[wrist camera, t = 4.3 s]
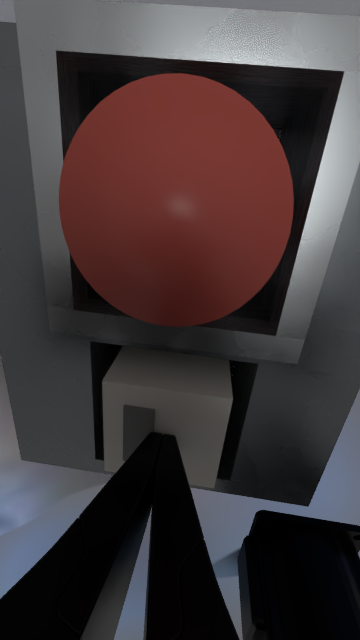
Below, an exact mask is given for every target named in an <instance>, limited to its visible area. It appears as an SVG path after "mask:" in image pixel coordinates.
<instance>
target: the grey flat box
mask: <svg viewBox="0 0 360 640" xmlns="http://www.w3.org/2000/svg"><path fill="white" fill-rule="evenodd" d="M14 7H15V16H16V23H9V22H0V352H1V357H2V362H3V368H4V373H5V378H6V383H7V388H8V393H9V398H10V403H11V408H12V414H13V419H14V424H15V429H16V434H17V439H18V444H19V449H20V454H21V460H25V461H31V462H37V463H44V464H50V465H56V466H62V467H68V468H74V469H80V470H87V471H93V472H99V473H105V474H111V475H114V474H115V472H109V471H104V433H103V395H102V380H103V378H104V377H105V375H106V373H107V372H108V370H109V368H110V367H111V365H112V363H113V362H114V360H115V358H116V357H117V355H118V353H119V352H120V350H121V348H122V347H123V346H130V347H138V348H145V349H153V350H160V351H167V352H175V353H182V354H190V355H197V356H205V357H212V358H220V359H227V360H234V361H236V364H235V369H234V374H233V379H232V384H231V385H232V395H233V401H232V406H231V411H230V416H229V420H228V425H227V430H226V435H225V439H224V444H223V449H222V453H221V458H220V463H219V468H218V472H217V477H216V482H215V487H214V488H208V487H201V486H195V485H189V486H190V487H191V488H198V489H204V490H210V491H217V492H222V493H228V494H234V495H241V496H247V497H253V498H259V499H265V500H271V501H278V502H284V503H290V504H296V505H302V506H309V504H310V502H311V499H312V497H313V495H314V492H315V490H316V487H317V485H318V483H319V481H320V478H321V476H322V474H323V471H324V469H325V467H326V465H327V462H328V460H329V458H330V455H331V453H332V451H333V449H334V446H335V444H336V442H337V439H338V437H339V435H340V432H341V430H342V428H343V425H344V423H345V421H346V419H347V416H348V414H349V412H350V409H351V407H352V405H353V402H354V400H355V398H356V395H357V393H358V391H359V388H360V16H347V15H331V14H314V13H298V12H281V11H265V10H248V9H232V8H215V7H199V6H182V5H166V4H149V3H133V2H116V1H100V0H14ZM165 73H184V74H190V75H196V76H202V77H205V78H208V79H211V80H214V81H217V82H219V83H221V84H223V85H225V86H227V87H229V88H231V89H232V90H234V91H236V92H237V93H238V94H240V95H241V96H242V97H244V98H245V99H246V100H248V101H249V102H250V103H251V104H252V105H253V106H254V107H255V108H256V109H257V110H258V111H259V112H260V113H261V114H262V115H263V116H264V118H265V119H266V120H267V122H268V123H269V125H270V126H271V127H272V128H276V129H283V132H282V137H281V142H280V143H281V145H282V147H283V150H284V153H285V156H286V158H287V161H288V164H289V168H290V173H291V178H292V183H293V196H294V206H293V219H292V225H291V231H290V235H289V238H288V242H287V245H286V248H285V251H284V253H283V255H282V257H281V260H280V262H279V264H278V266H277V267H276V269H275V271H274V272H273V274H272V276H271V277H270V278H269V280H268V281H267V282H266V283H265V285H264V286H263V287H262V289H261V290H260V291H259V292H257V293H256V294H255V295H254V296H253V297H252V298H251V299H250V300H249V301H248V302H246V303H245V304H244V305H242V306H241V307H240V308H238V309H237V310H235V311H233V312H232V313H230V314H228V315H226V316H224V317H221V318H219V319H217V320H214V321H211V322H207V323H204V324H199V325H194V326H183V327H172V326H162V325H156V324H151V323H148V322H145V321H142V320H138V319H136V318H134V317H132V316H129V315H127V314H125V313H124V312H122V311H120V310H119V309H117V308H115V307H114V306H113V305H111V304H110V303H109V302H107V301H106V300H105V299H104V298H102V297H101V296H100V295H99V294H98V293H97V292H96V291H95V290H94V289H93V288H92V286H91V285H90V284H89V283H88V282H87V280H86V279H85V278H84V276H83V275H82V273H81V272H80V270H79V269H78V267H77V266H76V264H75V262H74V260H73V258H72V256H71V254H70V251H69V249H68V246H67V243H66V241H65V237H64V234H63V230H62V226H61V219H60V212H59V185H60V176H61V172H62V167H63V163H64V159H65V156H66V154H67V151H68V148H69V145H70V143H71V141H72V139H73V137H74V135H75V133H76V132H77V130H78V128H79V127H80V125H81V124H82V122H83V121H84V120H85V118H86V117H87V115H88V114H89V113H90V112H91V111H92V110H93V109H94V108H95V107H96V106H97V105H98V104H99V103H100V102H101V101H102V100H103V99H105V98H106V97H107V96H109V95H110V94H111V93H113V92H114V91H116V90H117V89H119V88H121V87H123V86H125V85H126V84H128V83H130V82H133V81H136V80H139V79H142V78H144V77H148V76H153V75H159V74H165Z"/></svg>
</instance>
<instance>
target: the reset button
mask: <svg viewBox="0 0 360 640" xmlns="http://www.w3.org/2000/svg"><path fill="white" fill-rule="evenodd" d="M293 206H294V196H293V183H292V178H291V173H290V168H289V164H288V161H287V158H286V156H285V153H284V150H283V147H282V145H281V143H280V141H279V139H278V138H277V136H276V134H275V132H274V130H273V129H272V127H271V126H270V125H269V123H268V122H267V120H266V119H265V118H264V116H263V115H262V114H261V113H260V112H259V111H258V110H257V109H256V108H255V107H254V106H253V105H252V104H251V103H250V102H249V101H248V100H246V99H245V98H244V97H242V96H241V95H240V94H238V93H237V92H236V91H234V90H232V89H231V88H229V87H227V86H225V85H223V84H221V83H219V82H217V81H214V80H211V79H208V78H205V77H202V76H196V75H190V74H184V73H165V74H159V75H153V76H148V77H144V78H142V79H139V80H136V81H133V82H130V83H128V84H126V85H125V86H123V87H121V88H119V89H117V90H116V91H114V92H113V93H111V94H110V95H109V96H107V97H106V98H105V99H103V100H102V101H101V102H100V103H99V104H98V105H97V106H96V107H95V108H94V109H93V110H92V111H91V112H90V113H89V114H88V115H87V117H86V118H85V120H84V121H83V122H82V124H81V125H80V127H79V128H78V130H77V132H76V133H75V135H74V137H73V139H72V141H71V143H70V145H69V148H68V151H67V154H66V156H65V159H64V163H63V167H62V172H61V176H60V185H59V212H60V219H61V226H62V230H63V234H64V237H65V241H66V243H67V246H68V249H69V251H70V254H71V256H72V258H73V260H74V262H75V264H76V266H77V267H78V269H79V270H80V272H81V273H82V275H83V276H84V278H85V279H86V280H87V282H88V283H89V284H90V285H91V286H92V288H93V289H94V290H95V291H96V292H97V293H98V294H99V295H100V296H101V297H102V298H104V299H105V300H106V301H107V302H109V303H110V304H111V305H113V306H114V307H115V308H117V309H119V310H120V311H122V312H124V313H125V314H127V315H129V316H132V317H134V318H136V319H138V320H142V321H145V322H148V323H151V324H156V325H162V326H172V327H183V326H194V325H199V324H204V323H207V322H211V321H214V320H217V319H219V318H221V317H224V316H226V315H228V314H230V313H232V312H233V311H235V310H237V309H238V308H240V307H241V306H242V305H244V304H245V303H246V302H248V301H249V300H250V299H251V298H252V297H253V296H254V295H255V294H256V293H257V292H259V291H260V290H261V289H262V287H263V286H264V285H265V283H266V282H267V281H268V280H269V278H270V277H271V276H272V274H273V272H274V271H275V269H276V267H277V266H278V264H279V262H280V260H281V257H282V255H283V253H284V251H285V248H286V245H287V242H288V238H289V235H290V231H291V225H292V219H293Z"/></svg>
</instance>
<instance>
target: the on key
mask: <svg viewBox="0 0 360 640" xmlns="http://www.w3.org/2000/svg"><path fill="white" fill-rule="evenodd" d="M102 395H103V433H104V471H109V472H115V473H116V472H117V471H118V469H119V468H120V467H121V466H122V465H123V463H124V462H125V461H126V460H127V459H128V457H129V456H130V455H131V454H132V453H133V452H134V450H135V449H136V448H137V447H138V446H139V444H140V443H141V442H142V441H143V440H144V438H145V437H146V436H147V435H148V434H149V433H150V432H159V433H162V435H163V434H172V435H175V436H176V439H177V443H178V446H179V450H180V454H181V457H182V461H183V464H184V468H185V472H186V475H187V479H188V482H189V485H195V486H201V487H208V488H214V487H215V482H216V477H217V472H218V468H219V463H220V458H221V453H222V449H223V444H224V439H225V435H226V430H227V425H228V420H229V416H230V411H231V406H232V401H233V395H232V385H231V375H230V365H229V360H227V359H220V358H212V357H205V356H197V355H190V354H182V353H175V352H167V351H160V350H153V349H145V348H138V347H130V346H123V347H122V348H121V350H120V352H119V353H118V355H117V357H116V358H115V360H114V362H113V363H112V365H111V367H110V368H109V370H108V372H107V373H106V375H105V377H104V378H103V380H102Z"/></svg>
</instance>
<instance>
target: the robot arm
mask: <svg viewBox="0 0 360 640" xmlns="http://www.w3.org/2000/svg"><path fill="white" fill-rule="evenodd" d="M151 508H152V514H151V530H150V545H149V560H148V576H147V591H146V608H145V624H144V639H143V640H239V637H238V635H237V632H236V630H235V627H234V625H233V622H232V620H231V617H230V615H229V612H228V609H227V607H226V605H225V602H224V599H223V596H222V593H221V591H220V588H219V585H218V582H217V580H216V577H215V573H214V570H213V567H212V564H211V560H210V557H209V554H208V551H207V547H206V543H205V541H204V540H203V539H204V536H203V533H202V529H201V526H200V522H199V518H198V515H197V511H196V508H195V504H194V500H193V497H192V493H191V490H190V486H189V482H188V479H187V475H186V472H185V468H184V464H183V461H182V457H181V454H180V450H179V446H178V443H177V439H176V436H175V435H172V434H163V435H162V433H159V432H150V433H149V434H148V435H147V436H146V437H145V438H144V440H143V441H142V442H141V443H140V444H139V446H138V447H137V448H136V449H135V450H134V452H133V453H132V454H131V455H130V456H129V457H128V459H127V460H126V461H125V462H124V463H123V465H122V466H121V467H120V468H119V469H118V471H117V472H116V473H115V474H114V475H113V476H112V478H111V479H110V480H109V481H108V482H107V484H106V485H105V486H104V487H103V488H102V490H101V491H100V492H99V493H98V494H97V495H96V497H95V498H94V499H93V500H92V501H91V503H90V504H89V505H88V506H87V507H86V508H85V510H84V511H83V512H82V513H81V514H80V516H79V518H77V519H76V520H75V522H74V523H73V524H72V525H71V526H70V527H69V528H68V530H67V531H66V532H65V533H64V534H63V535H62V536H61V538H60V539H59V540H58V541H57V542H56V543H55V545H53V547H52V548H51V549H50V550H49V551H48V552H47V553H46V554H45V555H44V556H43V557H42V558H41V559H40V560H39V561H38V562H37V563H36V564H35V565H34V566H33V567H32V568H31V569H30V570H29V571H28V572H27V573H26V574H25V575H24V576H23V577H22V578H21V579H20V580H19V581H18V582H17V583H16V584H15V585H14V586H13V587H12V588H11V589H10V590H9V591H8V592H7V593H6V594H5V595H4V596H3V597H2V598H1V599H0V640H113V639H114V636H115V633H116V629H117V626H118V622H119V619H120V615H121V611H122V609H123V605H124V601H125V598H126V595H127V591H128V588H129V584H130V580H131V577H132V574H133V571H134V567H135V563H136V560H137V557H138V553H139V550H140V546H141V543H142V539H143V536H144V533H145V529H146V526H147V522H148V518H149V515H150V511H151ZM359 550H360V526H357V525H352V524H346V523H340V522H333V521H327V520H321V519H315V518H308V517H303V516H297V515H291V514H285V513H279V512H273V511H267V510H260V511H258V512H256V514H255V517H254V520H253V523H252V526H251V530H250V533H249V536H246V537H245V538H244V540H243V544H242V547H241V550H240V553H239V556H238V575H239V589H240V603H241V617H242V618H241V619H242V634H243V640H360V558H359V556H358V552H359Z"/></svg>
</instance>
